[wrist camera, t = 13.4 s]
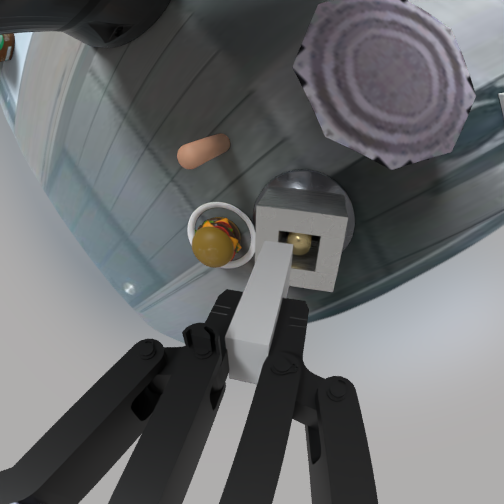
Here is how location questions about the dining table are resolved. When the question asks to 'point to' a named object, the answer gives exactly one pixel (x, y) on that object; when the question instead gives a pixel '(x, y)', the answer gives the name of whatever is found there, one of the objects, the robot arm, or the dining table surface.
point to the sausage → (202, 150)
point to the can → (385, 79)
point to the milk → (502, 101)
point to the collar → (305, 231)
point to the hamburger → (219, 238)
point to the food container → (6, 46)
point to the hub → (314, 183)
